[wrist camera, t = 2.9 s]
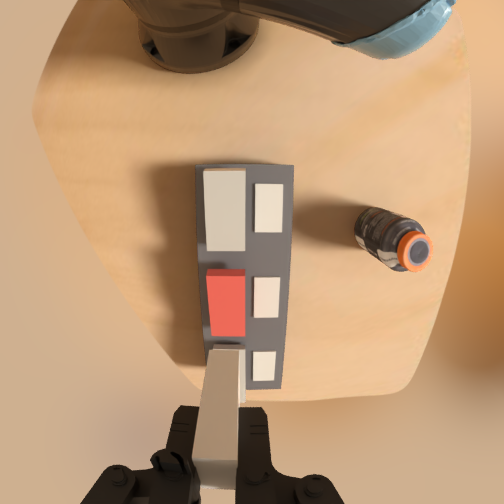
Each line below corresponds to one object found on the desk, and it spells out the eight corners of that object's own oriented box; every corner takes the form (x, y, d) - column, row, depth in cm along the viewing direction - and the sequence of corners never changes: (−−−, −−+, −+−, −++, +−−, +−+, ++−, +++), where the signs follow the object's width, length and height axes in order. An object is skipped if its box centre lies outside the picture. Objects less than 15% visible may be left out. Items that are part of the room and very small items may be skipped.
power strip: (202, 165, 32) (193, 164, 27) (286, 165, 33) (295, 165, 27) (211, 367, 40) (208, 393, 35) (277, 367, 41) (281, 393, 35)
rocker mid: (207, 268, 29) (206, 276, 27) (245, 269, 29) (245, 276, 27) (212, 327, 32) (211, 335, 31) (245, 328, 32) (245, 336, 31)
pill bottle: (357, 255, 36) (396, 289, 25) (349, 212, 34) (391, 232, 23) (394, 243, 36) (441, 271, 25) (388, 202, 34) (438, 217, 23)
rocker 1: (205, 168, 26) (203, 171, 25) (245, 168, 26) (245, 170, 25) (208, 245, 29) (207, 251, 28) (245, 245, 29) (245, 251, 28)
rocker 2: (213, 344, 33) (212, 349, 31) (245, 344, 33) (245, 349, 32) (216, 396, 34) (216, 402, 32) (245, 396, 34) (245, 402, 32)
